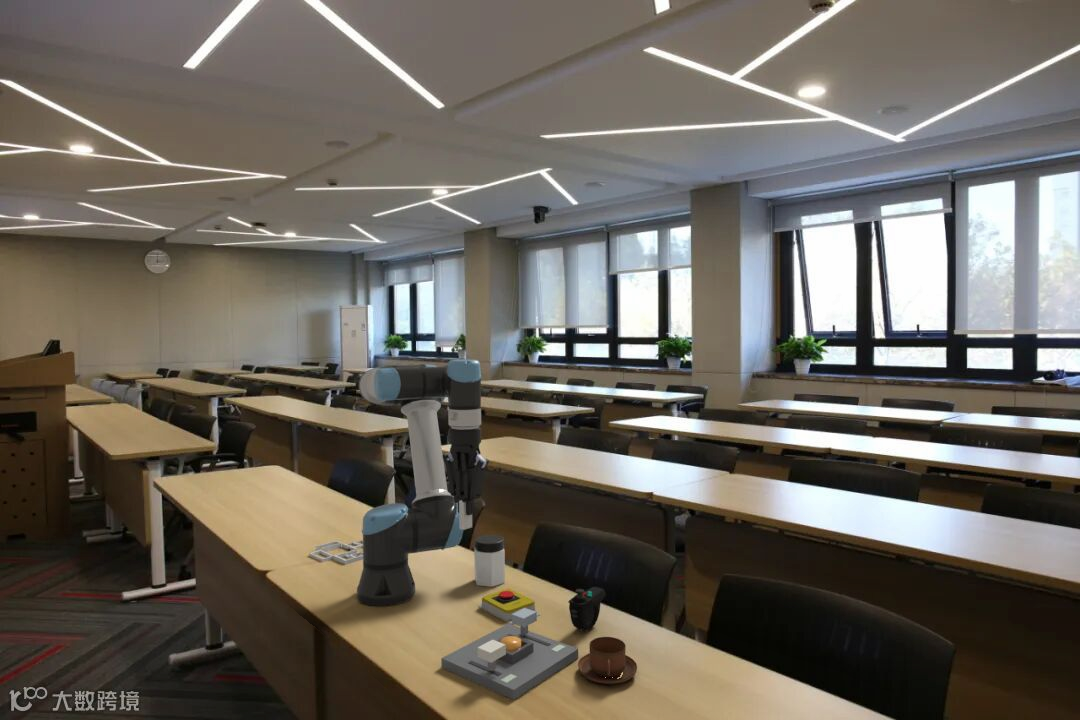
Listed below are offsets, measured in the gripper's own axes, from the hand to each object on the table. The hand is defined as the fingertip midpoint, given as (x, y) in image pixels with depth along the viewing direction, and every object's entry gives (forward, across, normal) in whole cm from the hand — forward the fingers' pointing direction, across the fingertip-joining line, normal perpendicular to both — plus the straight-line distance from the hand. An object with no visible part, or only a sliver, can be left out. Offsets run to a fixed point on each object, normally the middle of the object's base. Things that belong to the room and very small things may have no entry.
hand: (465, 527), depth 158 cm
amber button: (+22, +18, -5) cm, 29 cm away
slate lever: (+22, +15, +3) cm, 27 cm away
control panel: (+24, +18, -5) cm, 31 cm away
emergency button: (+25, 0, +15) cm, 29 cm away
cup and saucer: (+25, +36, +4) cm, 44 cm away
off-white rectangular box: (+22, +20, -13) cm, 33 cm away
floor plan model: (+25, -69, +13) cm, 75 cm away
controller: (+25, +21, +19) cm, 38 cm away
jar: (+25, -17, +26) cm, 40 cm away
